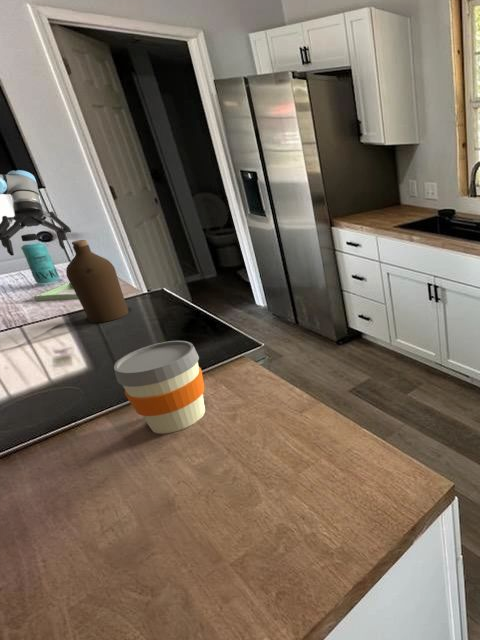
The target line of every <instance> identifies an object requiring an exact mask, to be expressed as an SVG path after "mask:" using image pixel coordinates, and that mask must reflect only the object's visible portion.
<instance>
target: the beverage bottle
mask: <svg viewBox="0 0 480 640" xmlns="http://www.w3.org/2000/svg"><path fill="white" fill-rule="evenodd" d="M20 238H21V241H22V242H27V243H23V244H22V246H21V247H20V249H21V250H22V253H23V255H24V258H25V259H26V263H27V266H28V268H29V270H30V271H31V275H32V277H33V279H34V282H35V283H37V284H40V285H42V284H50V283H53V282H58V281H59V280H60V275H59V272H58V270H57V268H56V266H55V264H54V262H53V259H52V257H51V255H50V252H49V250H48V248H47V245H46V244H45V243H43V242H41V241H36V240H39V236H38V235H37V233H26V234H22V235H21V236H20ZM33 241H34V242H33Z"/></svg>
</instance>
